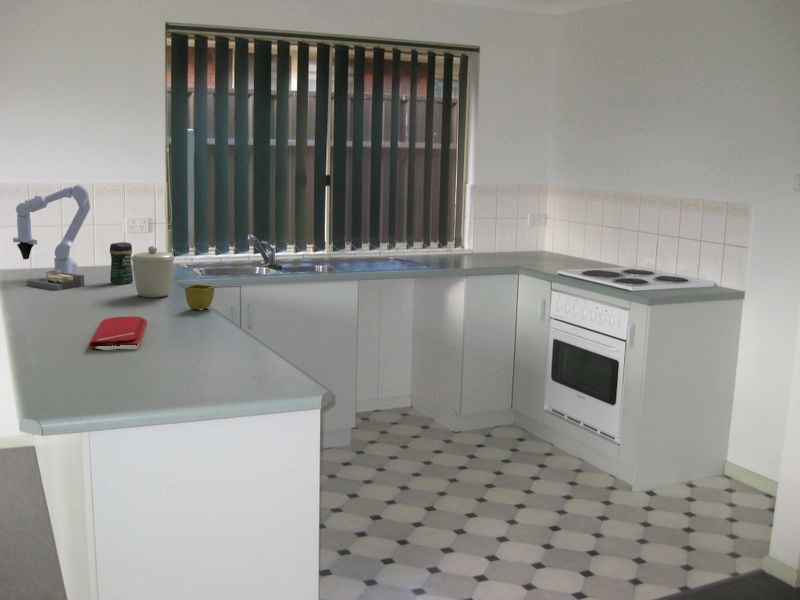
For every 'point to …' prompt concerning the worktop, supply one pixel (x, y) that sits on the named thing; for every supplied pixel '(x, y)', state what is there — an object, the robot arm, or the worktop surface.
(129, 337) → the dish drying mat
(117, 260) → the coffee jar
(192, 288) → the flower pot
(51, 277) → the footed beige box
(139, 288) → the canister
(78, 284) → the loading dock
